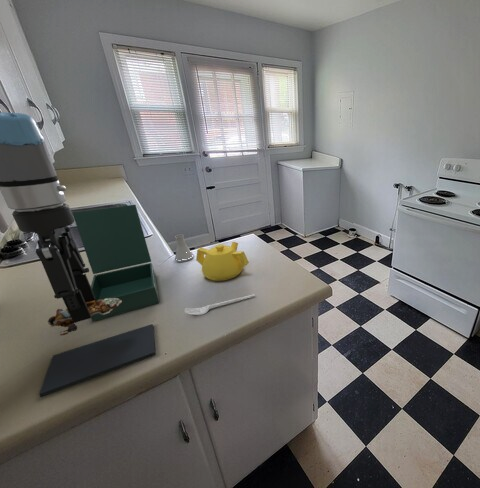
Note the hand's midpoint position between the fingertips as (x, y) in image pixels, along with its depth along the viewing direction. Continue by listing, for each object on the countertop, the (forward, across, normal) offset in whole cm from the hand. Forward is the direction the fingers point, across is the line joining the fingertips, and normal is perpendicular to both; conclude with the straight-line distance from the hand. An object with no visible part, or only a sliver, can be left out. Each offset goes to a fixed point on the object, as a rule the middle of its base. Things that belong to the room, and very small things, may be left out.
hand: (85, 309), depth 58 cm
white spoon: (+14, +5, -28) cm, 31 cm away
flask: (+13, +47, -23) cm, 54 cm away
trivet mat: (+13, 0, 0) cm, 13 cm away
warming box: (+13, +27, -4) cm, 30 cm away
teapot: (+13, +27, -35) cm, 46 cm away
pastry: (+2, +1, 0) cm, 2 cm away
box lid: (-3, +38, -4) cm, 38 cm away
